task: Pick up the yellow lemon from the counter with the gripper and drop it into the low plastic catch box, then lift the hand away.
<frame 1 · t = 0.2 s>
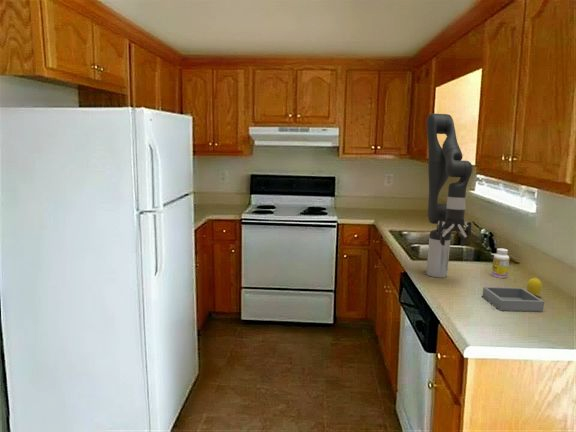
hand: (452, 245, 207), 17 cm above the countertop, tool pointing down, fingers open, 8 cm apart
supplement bottle: (499, 276, 226), on the countertop
catch box: (511, 303, 188), on the countertop
lemon: (533, 296, 198), on the countertop
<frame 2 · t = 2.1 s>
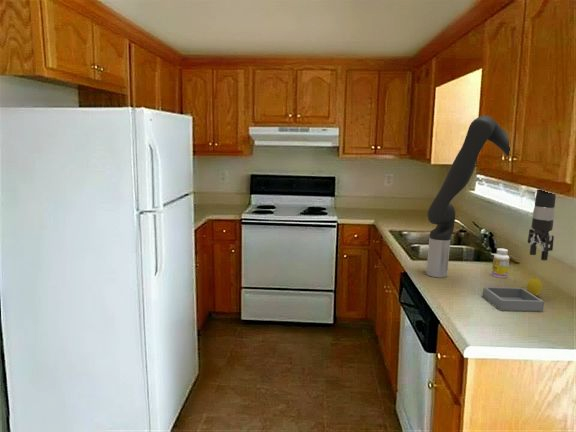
hand: (538, 257, 195), 16 cm above the countertop, tool pointing down, fingers open, 8 cm apart
nothing on the countertop moved.
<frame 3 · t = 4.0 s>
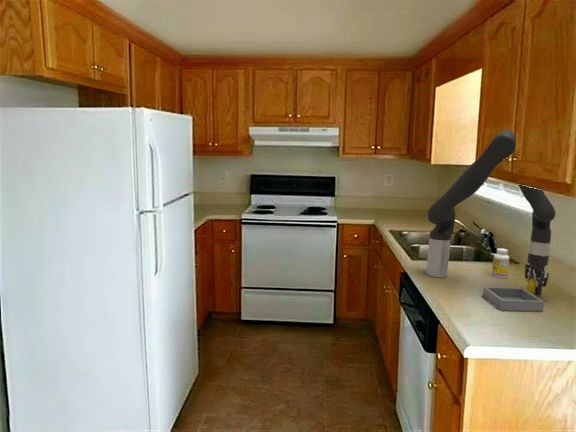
hand: (533, 292, 198), 2 cm above the countertop, tool pointing down, fingers closed on lemon, 5 cm apart
lemon: (533, 296, 198), on the countertop, touching gripper
everything else where it was.
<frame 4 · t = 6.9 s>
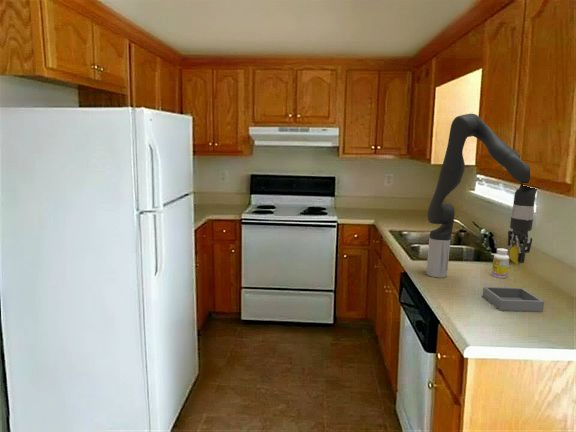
hand: (516, 260, 185), 17 cm above the countertop, tool pointing down, fingers closed on lemon, 5 cm apart
lemon: (516, 264, 185), point 16 cm above the countertop, touching gripper
everything else where it was.
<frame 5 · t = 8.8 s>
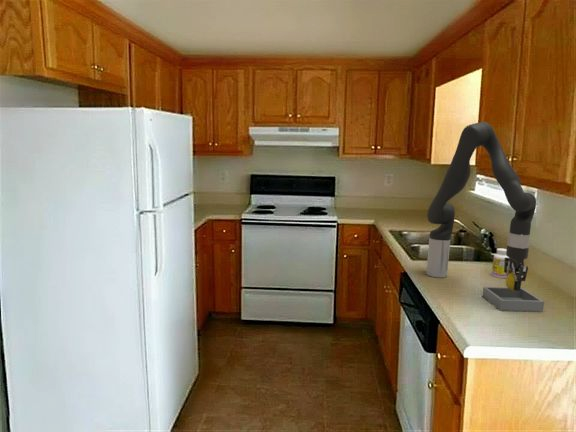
hand: (512, 287, 187), 7 cm above the countertop, tool pointing down, fingers closed on lemon, 5 cm apart
lemon: (512, 291, 187), point 5 cm above the countertop, touching gripper
everything else where it was.
when the fingers open (4 cm above the countertop, at t = 10.2 s): lemon drops 2 cm, resting on catch box.
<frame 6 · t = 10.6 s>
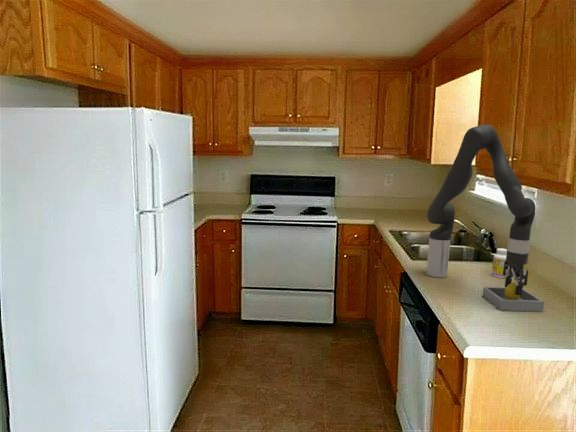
hand: (512, 291, 187), 5 cm above the countertop, tool pointing down, fingers open, 8 cm apart
lemon: (510, 303, 188), resting on catch box
everything else where it was.
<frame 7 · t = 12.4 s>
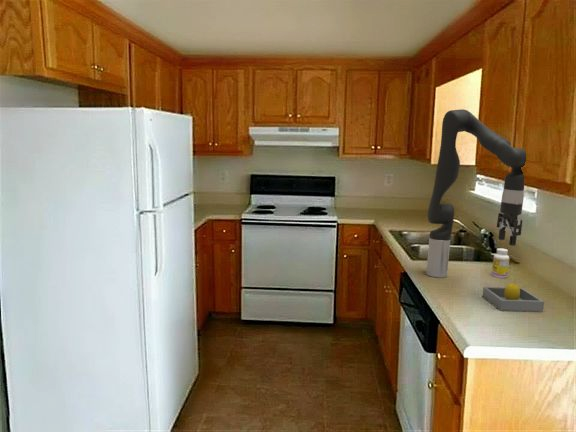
hand: (506, 242, 188), 23 cm above the countertop, tool pointing down, fingers open, 8 cm apart
nothing on the countertop moved.
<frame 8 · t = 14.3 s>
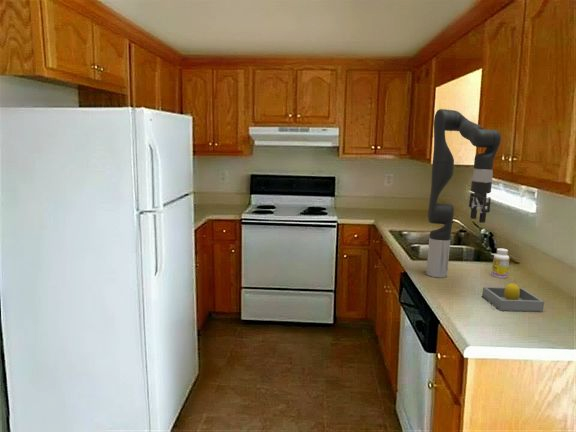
hand: (477, 220, 195), 30 cm above the countertop, tool pointing down, fingers open, 8 cm apart
nothing on the countertop moved.
at the end: lemon inside the target area on the catch box (0.3 cm from its centre), point 0.1 cm above the catch box's base; the gripper is holding nothing; lemon moved 17.1 cm from its start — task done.
